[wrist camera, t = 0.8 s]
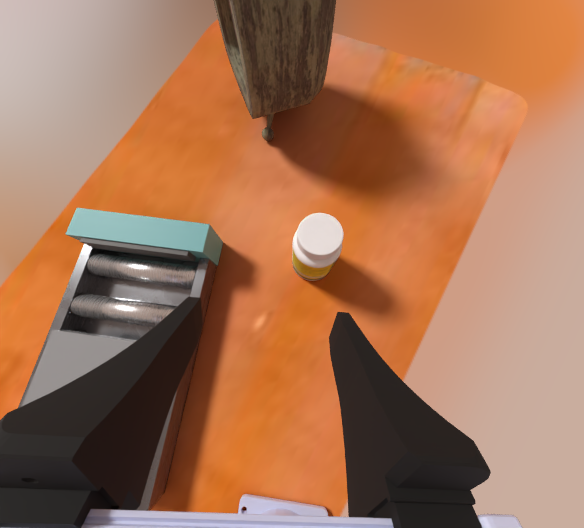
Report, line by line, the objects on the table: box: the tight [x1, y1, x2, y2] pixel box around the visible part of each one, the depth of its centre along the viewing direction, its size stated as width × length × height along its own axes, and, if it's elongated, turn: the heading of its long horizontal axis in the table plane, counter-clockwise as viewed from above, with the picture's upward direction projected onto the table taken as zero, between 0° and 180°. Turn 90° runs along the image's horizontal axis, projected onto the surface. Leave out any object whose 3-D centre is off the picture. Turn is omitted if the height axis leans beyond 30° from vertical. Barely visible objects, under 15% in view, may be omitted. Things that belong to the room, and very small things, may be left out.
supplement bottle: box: [292, 213, 343, 281], centre depth 24 cm, size 5×5×8 cm
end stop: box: [66, 208, 223, 266], centre depth 26 cm, size 4×14×5 cm, turn 82°
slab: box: [22, 330, 137, 406], centre depth 20 cm, size 12×10×1 cm
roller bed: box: [18, 244, 217, 511], centre depth 24 cm, size 22×14×3 cm, turn 172°
